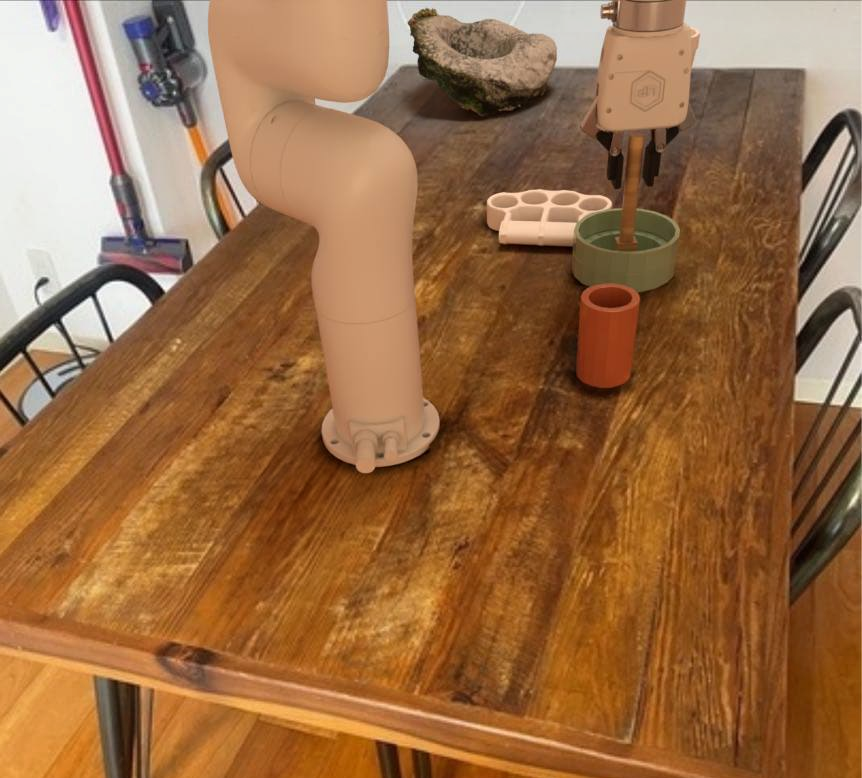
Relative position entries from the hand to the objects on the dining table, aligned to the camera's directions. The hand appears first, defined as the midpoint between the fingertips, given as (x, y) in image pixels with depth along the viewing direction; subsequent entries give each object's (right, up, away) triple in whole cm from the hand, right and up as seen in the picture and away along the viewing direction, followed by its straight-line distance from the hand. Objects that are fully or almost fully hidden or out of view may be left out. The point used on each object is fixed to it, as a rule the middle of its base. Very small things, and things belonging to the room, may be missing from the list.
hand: (631, 182), depth 105 cm
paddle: (+1, -8, +8) cm, 11 cm away
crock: (-5, -26, -9) cm, 28 cm away
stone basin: (-14, +44, +64) cm, 79 cm away
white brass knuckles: (-8, +1, +19) cm, 21 cm away
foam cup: (+17, +34, +51) cm, 63 cm away
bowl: (+1, -9, +8) cm, 12 cm away
